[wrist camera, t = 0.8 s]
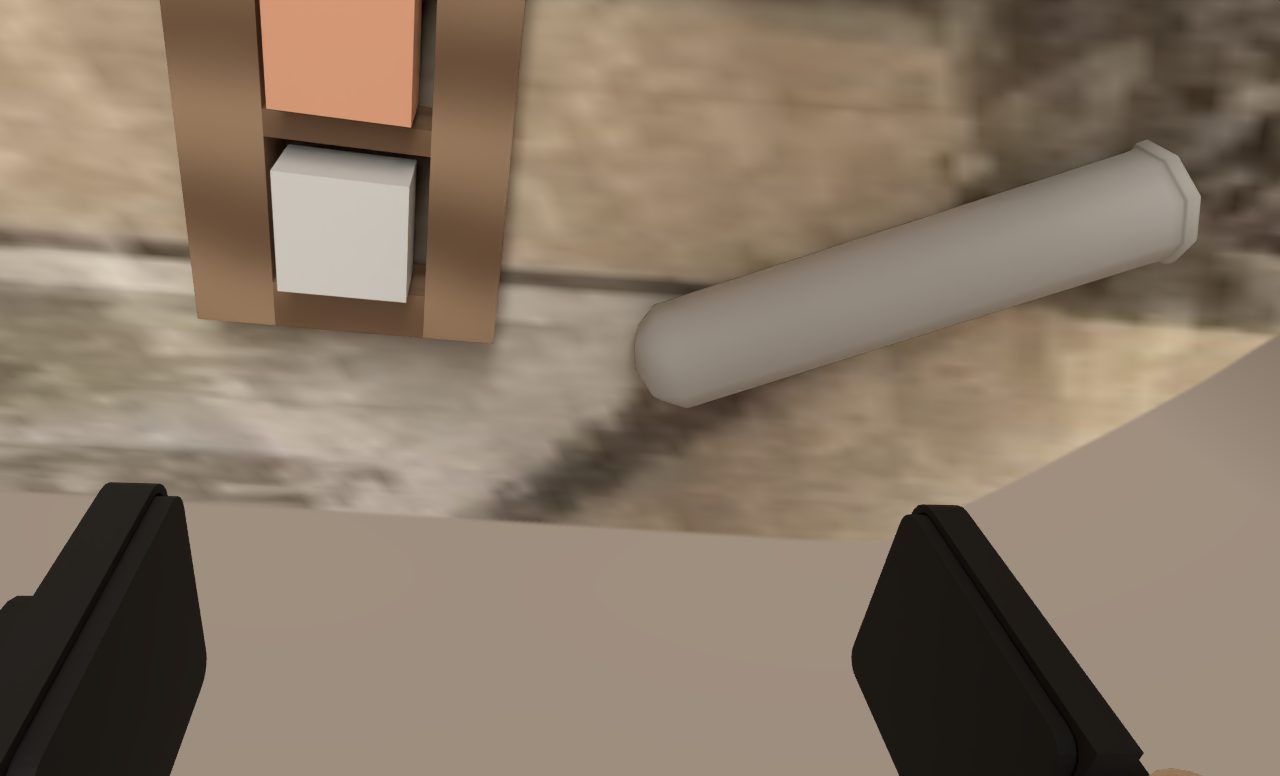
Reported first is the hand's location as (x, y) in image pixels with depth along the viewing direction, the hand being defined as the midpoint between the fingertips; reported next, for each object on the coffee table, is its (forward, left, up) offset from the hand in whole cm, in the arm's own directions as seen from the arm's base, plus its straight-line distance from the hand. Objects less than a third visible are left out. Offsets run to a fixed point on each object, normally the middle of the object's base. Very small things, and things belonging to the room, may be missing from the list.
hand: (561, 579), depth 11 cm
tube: (+7, +17, -28) cm, 34 cm away
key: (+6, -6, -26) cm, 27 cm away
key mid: (-1, -6, -26) cm, 27 cm away
